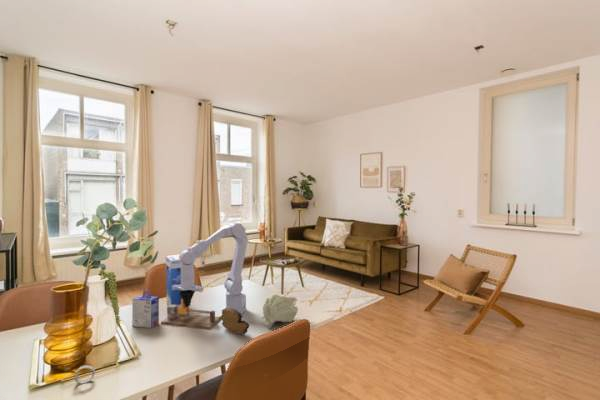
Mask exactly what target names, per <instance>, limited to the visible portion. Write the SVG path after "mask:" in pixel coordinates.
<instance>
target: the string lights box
mask: <svg viewBox="0 0 600 400" xmlns="http://www.w3.org/2000/svg"><path fill="white" fill-rule="evenodd" d="M180 254H181V253H180ZM180 254H179V253H178V254H173V255H170V254H169V255H166V256H165V281H166V282H165V284H166V285H165V286H166V287H165V288H166V305H167V306H166V307H168V306H169V305H171V304H172V305H177V307H178V308H179V307H180V306H181V299H183V298H182V297H181V295H180V292H181V290H172V286H173V285H181V260H180V259H179V256H180Z"/></svg>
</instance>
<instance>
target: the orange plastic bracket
mask: <svg viewBox="0 0 600 400" xmlns="http://www.w3.org/2000/svg"><path fill="white" fill-rule="evenodd" d="M187 309H190V306H189V307H185V304H184V301H183V299H181V306H180V307H179V308H178V311H177V313H178V314H184V315H186V314H190V312H187Z"/></svg>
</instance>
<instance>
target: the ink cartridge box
mask: <svg viewBox="0 0 600 400" xmlns="http://www.w3.org/2000/svg"><path fill="white" fill-rule="evenodd" d="M142 294H143V295H139V296H136V297H134V298H133V299H132V301H131V303H132V309H131V310H132V315H131V317H132V319H131V320H132V321H131V322H132V324H131V325H132V327H139V328H148V329H151V328H153V327H155V326H157V325H159V324H160V319H159V318H160V314H159V313H160V310H159V309H160V297H159V296H152V291H147V290H145V291H143V293H142Z"/></svg>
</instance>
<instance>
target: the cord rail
mask: <svg viewBox="0 0 600 400" xmlns="http://www.w3.org/2000/svg"><path fill="white" fill-rule="evenodd" d="M166 309H167V312H166V314H167V317H165V318H164V319H163V320H161V321H160V324H161V325H166V326H167V325H168V326H169V325H170V326H179V327H188V328H197V329H207V330H211V329H212V328H213V327H214V326H215V325H216V324H217V323H219V321H221V319H220V318H219V317H220V316H216V310H210V311H209V310H199V309H190V308H189V309H187V312H189V313H188V314H186V315H184V314H178V307H177V305H172V304H171V305H169V306H166ZM191 313H197V314H191ZM201 314H209V315H201Z"/></svg>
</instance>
